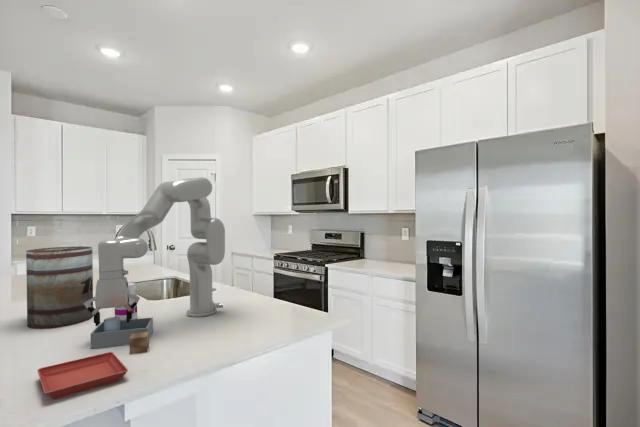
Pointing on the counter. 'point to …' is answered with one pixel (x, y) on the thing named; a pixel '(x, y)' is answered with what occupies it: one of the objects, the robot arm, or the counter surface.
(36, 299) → the barrel
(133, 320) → the tote
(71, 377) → the plant saucer
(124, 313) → the supplement can
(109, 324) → the blue cylinder
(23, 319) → the counter surface
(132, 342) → the walnut cube
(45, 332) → the counter surface
